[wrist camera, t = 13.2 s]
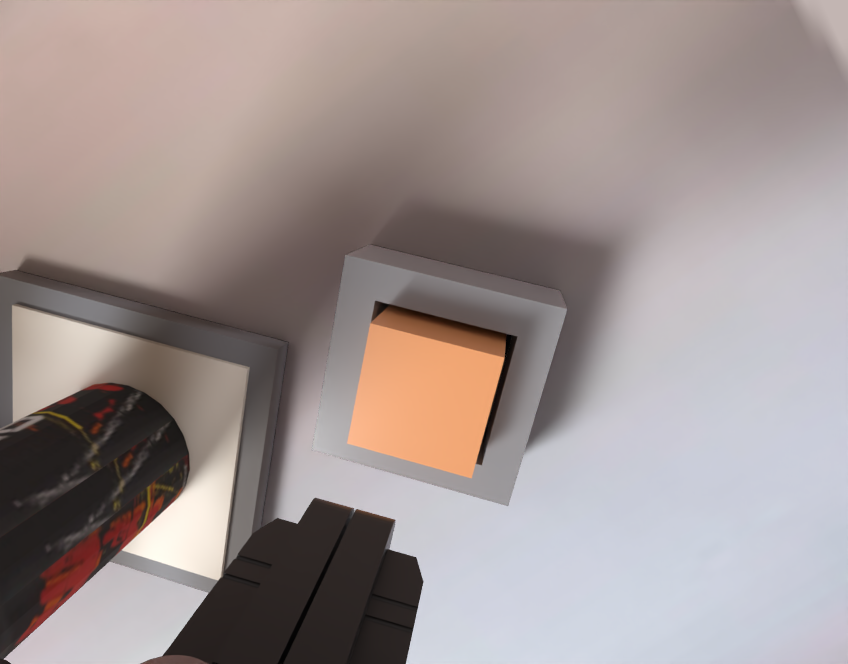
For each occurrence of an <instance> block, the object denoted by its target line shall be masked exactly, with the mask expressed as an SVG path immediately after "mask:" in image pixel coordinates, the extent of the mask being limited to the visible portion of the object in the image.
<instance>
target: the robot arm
mask: <svg viewBox="0 0 848 664" xmlns="http://www.w3.org/2000/svg"><path fill="white" fill-rule="evenodd" d="M394 526H395V520H394V519H390V518H387V517H383V516H379V515H376V514H372V513H369V512H365V511H362V510H358V509H357V510H356V511H355V512H354V508H350V507H347V506H343V505H339V504H336V503H332V502H329V501H325V500H321V499H318V498H314V499H313V501H312V502H311V504H310V505H309V507H308V508H307V510H306V512H305V513H304V515H303V516H302V518H301V520H300V521H299V523H298V524H296V523H293V522H289V521H286V520H282V519H279V518H277V519H275V520H274V521H272V522H270V523H269V524H267V525H265V526H264V527H262V528H260V529H259V530H257V531H255V532H254V533H253V534H252V535H251V536H250V538H249V539H248V541H247V542H246V543H245V545H244V546H243V547H242V549H241V550H240V551H239V553H238V554H237V557H236V559H234V560H233V561H232V562H231V564H230V565H229V566H228V568H227V569H226V571H225V572H224V574H223V577H222V578H221V577H220V579H219V580H218V581H217V583H216V584H215V586H214V587H213V588H212V590H211V591H210V592H209V594H208V595H207V596H206V598H205V599H204V601H203V602H202V603H201V605H200V606H199V607H198V609H197V610H196V611H195V613H194V614H193V616H192V617H191V618H190V620H189V621H188V622H187V624H186V625H185V627H184V628H183V629H182V631H181V632H180V633H179V635H178V636H177V637H176V639H175V640H174V642H173V643H172V644H171V646H170V647H169V648H168V650H167V651H166V652H165V653H164V655H163V656H162V657H157V658H154V659H150V660H148V661H145V662H143V663H141V664H406V660H407V655H408V651H409V646H410V641H411V637H412V632H413V627H414V623H415V618H416V613H417V609H418V604H419V600H420V595H421V590H422V586H423V579H422V576H421V572H420V569H419V565H418V562H417V559H416V557H413V556H409V555H406V554H402V553H399V552H395V551H392V550H389V548H390V544H391V539H392V535H393V531H394ZM0 664H11V663H9V662H8V661H6V660H4V659H1V658H0Z"/></svg>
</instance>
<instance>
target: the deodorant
mask: <svg viewBox="0 0 848 664" xmlns="http://www.w3.org/2000/svg"><path fill="white" fill-rule="evenodd" d="M189 471H190V465H189V451H188V448H187V445H186V441H185V438H184V435H183V433H182V432H181V430H180V428H179V426H178V425H177V423H176V421H175V419H174V418H173V417H172V416H171V415H170V414H169V412H168V411H167V410H166V409H165V408H164V407H163V406H162V405H161V404H160V403H159V402H157V401H156V400H155V399H153V398H152V397H150V396H149V395H148V394H146V393H145V392H142V391H140V390H138V389H135V388H133V387H131V386H128V385H123V384H117V383H102V384H94V385H91V386H89V387H87V388H85V389H83V390H81V391H79V392H76V393H74V394H72V395H70V396H68V397H66V398H64V399H62V400H59V401H57V402H55V403H53V404H51V405H49V406H47V407H45V408H43V409H40V410H38V411H36V412H34V413H32V414H30V415H28V416H26V417H23V418H21V419H19V420H17V421H15V422H13V423H11V424H9V425H7V426H4V427H2V428H0V658H1V659H4V658H5V657H6V656H7V655H8V654H9V653H10V652H12V651H13V650H14V649H15V648H16V647H17V646H18V645H19V644H20V643H21V642H22V641H23V640H25V639H26V638H27V637H28V636H29V635H30V634H31V633H32V632H33V631H34V630H35V629H36V628H38V627H39V626H40V625H41V624H42V623H43V622H44V621H45V620H46V619H47V618H48V617H49V616H51V615H52V614H53V613H54V612H55V611H56V610H57V609H58V608H59V607H60V606H61V605H62V604H64V603H65V602H66V601H67V600H68V599H69V598H70V597H71V596H72V595H73V594H74V593H76V592H77V591H78V590H79V589H80V588H81V587H82V586H83V585H84V584H85V583H86V582H87V581H89V580H90V579H91V578H92V577H93V576H94V575H95V574H96V573H97V572H98V571H99V570H100V569H102V568H103V567H104V566H105V565H106V564H107V563H108V562H109V561H110V560H111V559H112V558H113V557H115V556H116V555H117V554H118V553H119V552H120V551H121V550H122V549H123V548H124V547H125V546H126V545H128V544H129V543H130V542H131V541H132V540H133V539H134V538H135V537H136V536H137V535H138V534H140V533H141V532H142V531H143V530H144V529H145V528H146V527H147V526H148V525H149V524H150V523H151V522H153V521H154V520H155V519H156V518H157V517H158V516H159V515H160V514H161V513H162V512H163V511H164V510H166V509H167V508H168V507H169V506H170V505H171V504H172V503H173V502H174V501H175V500H176V499H177V498H178V497H179V496H180V494H181V492H182V491H183V489H184V488H185V486H186V483H187V479H188V475H189Z"/></svg>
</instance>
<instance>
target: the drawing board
mask: <svg viewBox="0 0 848 664" xmlns="http://www.w3.org/2000/svg"><path fill="white" fill-rule="evenodd" d="M287 348H288V342H286V341H282V340H278V339H274V338H270V337H267V336H263V335H259V334H255V333H251V332H248V331H244V330H240V329H236V328H233V327H229V326H225V325H221V324H217V323H214V322H210V321H206V320H202V319H199V318H195V317H191V316H187V315H183V314H180V313H176V312H172V311H168V310H164V309H161V308H157V307H153V306H149V305H146V304H142V303H138V302H134V301H130V300H127V299H123V298H119V297H115V296H112V295H108V294H104V293H100V292H96V291H93V290H89V289H85V288H81V287H78V286H74V285H70V284H66V283H62V282H59V281H55V280H51V279H47V278H43V277H40V276H36V275H32V274H28V273H25V272H21V271H17V270H14V271H8V272H2V273H0V428H2V427H4V426H7V425H9V424H11V423H13V422H15V421H17V420H19V419H21V418H23V417H26V416H28V415H30V414H32V413H34V412H36V411H38V410H40V409H43V408H45V407H47V406H49V405H51V404H53V403H55V402H57V401H59V400H62V399H64V398H66V397H68V396H70V395H72V394H74V393H76V392H79V391H81V390H83V389H85V388H87V387H89V386H91V385H94V384H102V383H117V384H123V385H128V386H131V387H133V388H135V389H138V390H140V391H142V392H145V393H146V394H148V395H149V396H150V397H152V398H153V399H155V400H156V401H157V402H159V403H160V404H161V405H162V406H163V407H164V408H165V409H166V410H167V411H168V412H169V414H170V415H171V416H172V417H173V418H174V419H175V421H176V423H177V425H178V426H179V428H180V430H181V432H182V433H183V435H184V438H185V441H186V445H187V448H188V451H189V465H190V471H189V475H188V479H187V483H186V486H185V488H184V489H183V491H182V492H181V494H180V496H179V497H178V498H177V499H176V500H175V501H174V502H173V503H172V504H171V505H170V506H169V507H168V508H167V509H166V510H164V511H163V512H162V513H161V514H160V515H159V516H158V517H157V518H156V519H155V520H154V521H153V522H151V523H150V524H149V525H148V526H147V527H146V528H145V529H144V530H143V531H142V532H141V533H140V534H138V535H137V536H136V537H135V538H134V539H133V540H132V541H131V542H130V543H129V544H128V545H126V546H125V547H124V548H123V549H122V550H121V551H120V552H119V553H118V554H117V555H116V556H115V557H113V558H112V559H111V560H110V562H113V563H117V564H120V565H123V566H126V567H129V568H132V569H135V570H139V571H142V572H145V573H148V574H151V575H154V576H158V577H161V578H164V579H167V580H170V581H173V582H176V583H180V584H183V585H186V586H189V587H192V588H195V589H199V590H202V591H205V592H208V593H209V592H210V591H211V590H212V588H213V587H214V586H215V584H216V583H217V581H218V580H219V579H220V577H221V578H222V577H223V574H224V572H225V571H226V569H227V568H228V566H229V565H230V564H231V562H232V561H233V560H234V559H236V557H237V554H238V553H239V551H240V550H241V549H242V547H243V546H244V545H245V543H246V542H247V541H248V539H249V538H250V536H251V535H252V534H253V533H254V532H255V531H257V530H259V529H260V528H261V523H262V516H263V509H264V503H265V496H266V489H267V483H268V476H269V469H270V462H271V456H272V449H273V442H274V436H275V429H276V422H277V415H278V409H279V402H280V395H281V389H282V382H283V375H284V368H285V362H286V355H287Z"/></svg>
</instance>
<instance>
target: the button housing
mask: <svg viewBox="0 0 848 664" xmlns="http://www.w3.org/2000/svg"><path fill="white" fill-rule="evenodd" d="M390 304H391V305H395V306H399V307H403V308H407V309H411V310H415V311H419V312H423V313H427V314H430V315H434V316H438V317H442V318H446V319H450V320H454V321H458V322H462V323H466V324H470V325H474V326H478V327H482V328H486V329H490V330H494V331H498V332H502V333H506V334H510V335H512V337H511V341H510V345H509V348H508V352H507V355H506V359H505V363H504V366H503V370H502V374H501V377H500V381H499V385H498V388H497V392H496V396H495V399H494V403H493V406H492V410H491V414H490V417H489V421H488V425H487V427H486V428H485V431H484V435H483V439H482V442H481V446H480V450H479V453H478V457H477V461H476V464H475V468H474V472H473V475H472V478H468V477H465V476H461V475H457V474H454V473H450V472H447V471H443V470H440V469H436V468H432V467H429V466H425V465H422V464H418V463H415V462H411V461H407V460H404V459H400V458H397V457H393V456H390V455H386V454H383V453H379V452H375V451H372V450H368V449H365V448H361V447H358V446H354V445H350V444H347V441H348V436H349V431H350V425H351V420H352V415H353V410H354V405H355V400H356V394H357V389H358V384H359V379H360V374H361V368H362V363H363V358H364V353H365V348H366V343H367V337H368V332H369V327H370V323H371V322H372V321H373V320H374V319H375V318H376V317H377V316H378V315H379V314H381V313H382V312H383V311H384V310H385V309H386V308H387V307H388V306H389V305H390ZM566 312H567V307H566V304H565V302H564V299H563V297H562V294H561V292H560V290H556V289H552V288H548V287H543V286H539V285H535V284H531V283H527V282H523V281H519V280H515V279H510V278H506V277H502V276H498V275H494V274H490V273H486V272H481V271H477V270H473V269H469V268H465V267H461V266H457V265H453V264H448V263H444V262H440V261H436V260H432V259H428V258H424V257H420V256H415V255H411V254H407V253H403V252H399V251H395V250H391V249H386V248H382V247H378V246H374V245H368V246H365V247H363V248H360V249H358V250H356V251H353V252H351V253H348V254H346V255H345V260H344V266H343V271H342V277H341V283H340V289H339V295H338V300H337V306H336V312H335V318H334V324H333V329H332V335H331V341H330V347H329V352H328V358H327V364H326V370H325V376H324V381H323V387H322V393H321V399H320V405H319V410H318V416H317V422H316V428H315V434H314V439H313V445H312V451H316V452H319V453H323V454H326V455H330V456H333V457H337V458H340V459H344V460H347V461H351V462H355V463H358V464H362V465H365V466H369V467H372V468H376V469H379V470H383V471H386V472H390V473H393V474H397V475H400V476H404V477H407V478H411V479H414V480H418V481H422V482H425V483H429V484H432V485H436V486H439V487H443V488H446V489H450V490H453V491H457V492H460V493H464V494H467V495H471V496H474V497H478V498H481V499H485V500H488V501H492V502H496V503H499V504H503V505H506V506H508V505H509V501H510V498H511V495H512V491H513V488H514V485H515V481H516V478H517V475H518V472H519V468H520V465H521V462H522V458H523V455H524V452H525V448H526V445H527V442H528V438H529V435H530V432H531V428H532V425H533V422H534V418H535V415H536V412H537V408H538V405H539V402H540V398H541V395H542V392H543V389H544V385H545V382H546V379H547V375H548V372H549V369H550V365H551V362H552V359H553V355H554V352H555V349H556V345H557V342H558V339H559V335H560V332H561V329H562V325H563V322H564V319H565V315H566Z"/></svg>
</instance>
